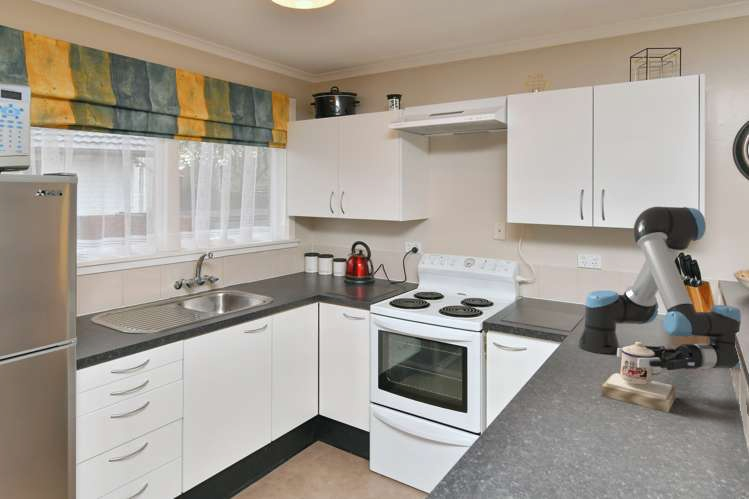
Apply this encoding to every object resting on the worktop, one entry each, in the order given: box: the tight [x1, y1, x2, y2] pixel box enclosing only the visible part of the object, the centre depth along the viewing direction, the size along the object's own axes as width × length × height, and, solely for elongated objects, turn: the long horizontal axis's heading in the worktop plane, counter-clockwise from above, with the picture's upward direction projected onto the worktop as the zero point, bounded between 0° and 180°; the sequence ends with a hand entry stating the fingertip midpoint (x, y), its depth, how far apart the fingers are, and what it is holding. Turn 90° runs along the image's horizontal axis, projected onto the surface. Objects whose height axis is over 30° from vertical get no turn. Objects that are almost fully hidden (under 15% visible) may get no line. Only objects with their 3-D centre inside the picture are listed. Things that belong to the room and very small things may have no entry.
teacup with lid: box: [619, 341, 666, 384], centre depth 150 cm, size 12×9×12 cm
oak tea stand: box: [600, 372, 677, 413], centre depth 152 cm, size 18×14×4 cm
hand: (627, 357), depth 150 cm, fingers closed on teacup with lid, 9 cm apart
